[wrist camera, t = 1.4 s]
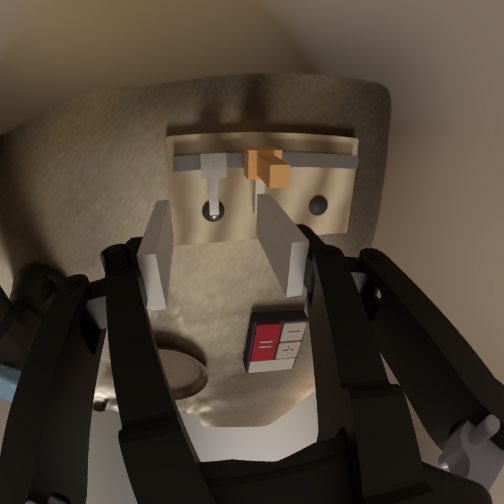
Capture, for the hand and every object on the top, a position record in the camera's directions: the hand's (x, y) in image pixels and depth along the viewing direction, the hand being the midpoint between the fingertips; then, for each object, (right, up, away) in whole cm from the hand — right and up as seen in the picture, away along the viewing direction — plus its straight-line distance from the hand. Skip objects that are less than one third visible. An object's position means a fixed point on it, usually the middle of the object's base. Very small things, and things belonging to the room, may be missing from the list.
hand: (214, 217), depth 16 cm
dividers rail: (+5, +8, +21) cm, 23 cm away
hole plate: (+4, +8, +23) cm, 25 cm away
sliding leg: (+3, +8, +20) cm, 22 cm away
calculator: (+6, -20, +40) cm, 45 cm away
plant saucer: (-18, -28, +39) cm, 51 cm away
